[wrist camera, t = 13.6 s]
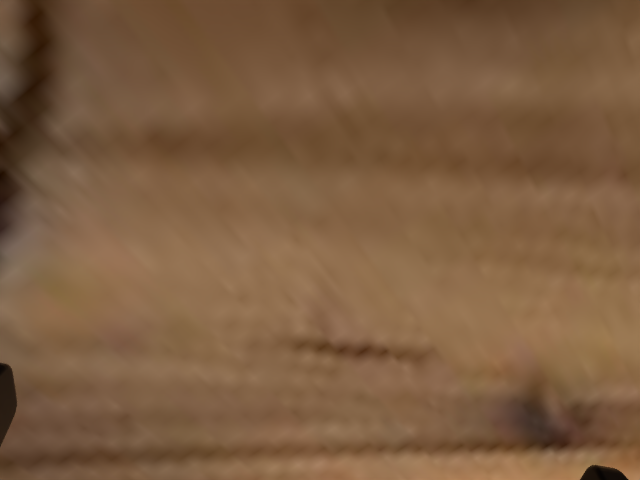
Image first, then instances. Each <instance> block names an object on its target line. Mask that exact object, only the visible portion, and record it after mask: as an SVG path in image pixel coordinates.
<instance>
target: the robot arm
mask: <svg viewBox="0 0 640 480" xmlns="http://www.w3.org/2000/svg"><path fill="white" fill-rule="evenodd" d="M16 407H17V398H16V391H15V384H14V378H13V372H12V368H11V367H10V366H9V365H7V364H4V363H0V446H1V444H2V442H3V440H4V438H5V435H6V433H7V431H8V429H9V426H10V424H11V422H12V420H13V417H14V415H15V412H16ZM580 480H628V479H627V478H626V476H625V475H624V474H623V473H622V472H620V471H619V470H617V469H615V468H610V467H604V466H598V465H592V466H590V467H588V468H587V470H586V471H585V473H584V474H583V476H582V477H581V479H580Z"/></svg>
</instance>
